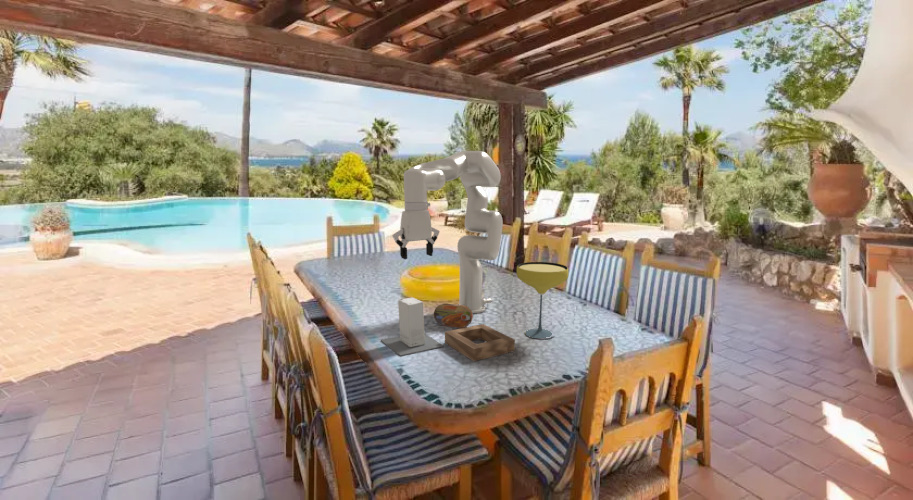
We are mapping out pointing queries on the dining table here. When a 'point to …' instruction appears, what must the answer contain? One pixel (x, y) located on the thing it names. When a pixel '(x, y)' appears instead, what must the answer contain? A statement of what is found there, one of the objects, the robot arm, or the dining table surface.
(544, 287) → the cocktail glass
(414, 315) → the skincare box
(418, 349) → the mat
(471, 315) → the tin
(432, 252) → the robot arm
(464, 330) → the frame
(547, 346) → the dining table surface
